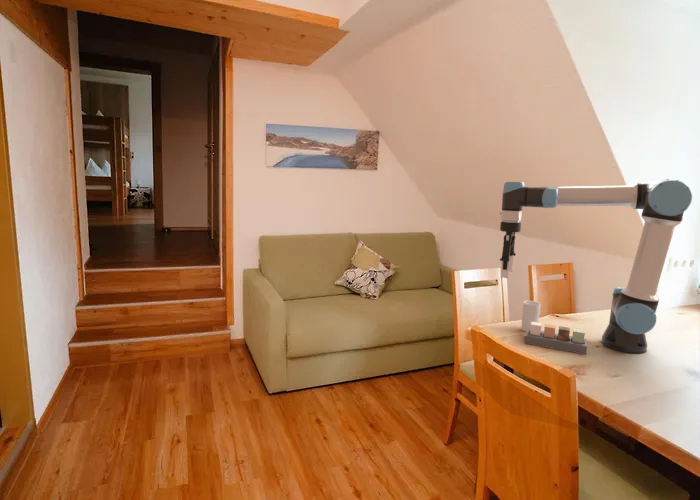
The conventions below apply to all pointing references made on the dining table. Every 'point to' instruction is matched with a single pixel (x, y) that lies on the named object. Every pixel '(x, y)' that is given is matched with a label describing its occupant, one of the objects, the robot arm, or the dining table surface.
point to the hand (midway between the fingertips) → (506, 274)
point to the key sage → (578, 335)
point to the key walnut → (563, 333)
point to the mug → (530, 314)
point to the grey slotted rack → (556, 342)
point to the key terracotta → (549, 331)
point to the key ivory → (535, 328)
